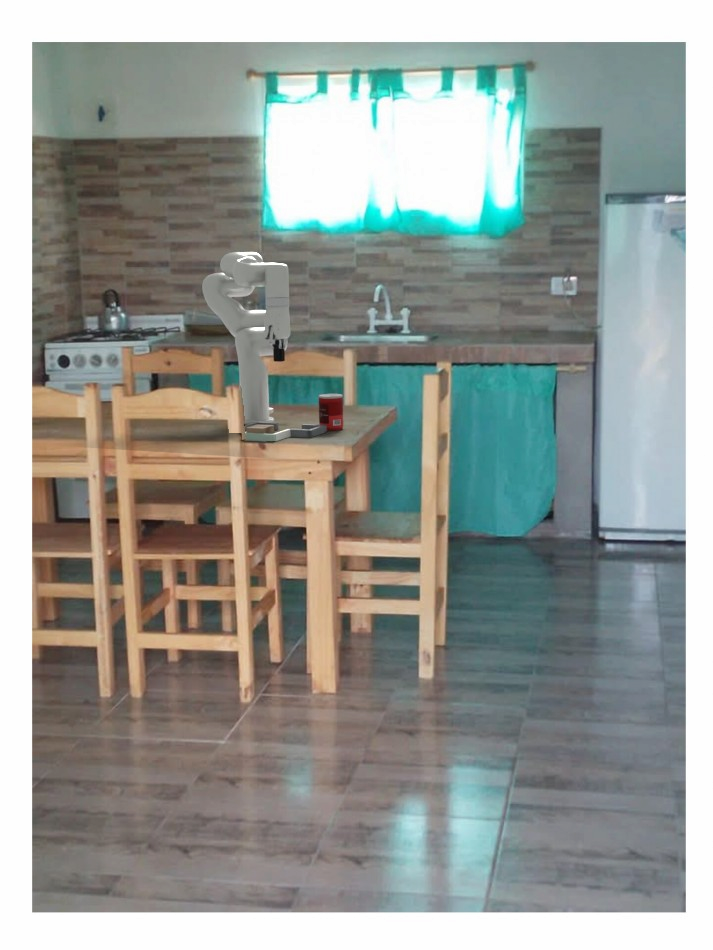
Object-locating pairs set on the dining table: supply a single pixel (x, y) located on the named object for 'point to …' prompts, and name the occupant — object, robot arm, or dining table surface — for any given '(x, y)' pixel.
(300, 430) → the tray
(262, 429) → the walnut block
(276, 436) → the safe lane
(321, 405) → the canned food
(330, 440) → the dining table surface
